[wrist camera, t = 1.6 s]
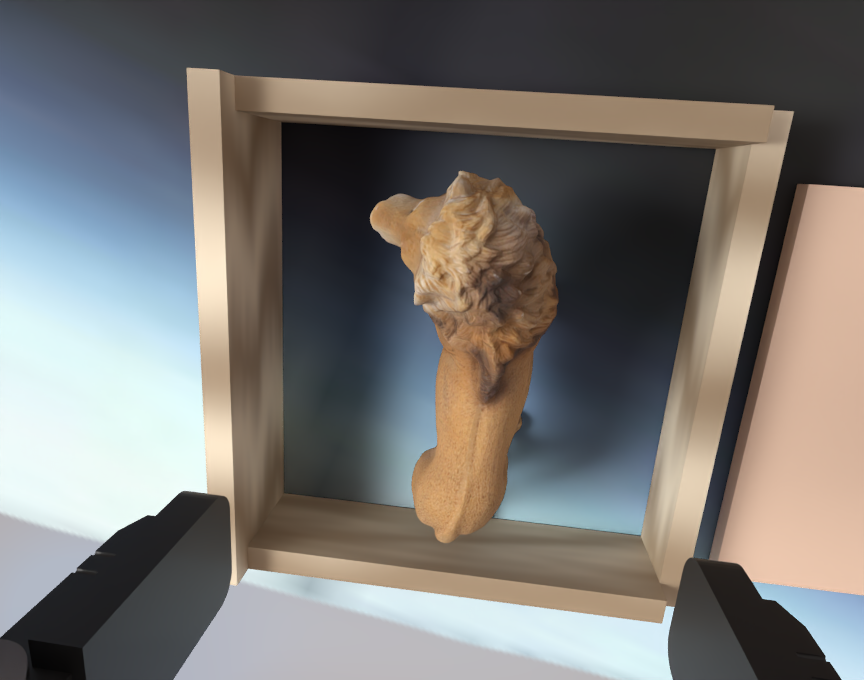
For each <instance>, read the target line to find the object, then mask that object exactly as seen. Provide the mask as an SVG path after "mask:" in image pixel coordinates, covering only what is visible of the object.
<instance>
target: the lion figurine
mask: <svg viewBox="0 0 864 680" xmlns="http://www.w3.org/2000/svg"><path fill="white" fill-rule="evenodd" d="M370 222H371V225H372V227H373V229H374V230H376V231H378V232H379V233H380V235H381V236H382V238H383V239H385V240H386V241H387V242H389V243H391V244H394V245H397V246H399V247H401V257H402V259H403V261H404V263H405V264H406V266H407V267H408V268H409V269H410V270H411V271H412V272H413V274H414V283H415V294H414V304H415V305H423V309H424V311H425V312H426V313H428V314H429V316H430V317H431V319H432V320H433V322H434V324H435V326H436V330H437V334H438V337H439V339H440V341H441V343H442V345H443V346H444V347H443V350H442V353H441V357H440V360H439V365H438V371H437V376H436V428H437V446H436V447H435V448H432V449H429V450H427V451H425V452H424V453H423V454H422V455H421V457H420V458H419V460H418V461H417V463H416V465H415V468H414V472H413V476H412V493H413V500H414V506H415V510H416V513H417V517H418V518H419V519H420V521H421V522H422V523H424V524H426V525H428V526H431V527H433V528H434V530H435V536H436V538H437V539H438V540H439V541H440V542H442V543H449V542H452V541H454V540H455V539H456V538H457V537H458V536H459V535H466V534H471V533H473V532H475V531H477V530H479V529H480V528H482V527H483V526H485V525H486V524H487V523H488V521H489V520H490V519H491V518H492V516H493V515H494V514H495V512H496V511H497V509H498V508H499V506H500V504H501V502H502V500H503V497H504V494H505V490H506V485H507V468H508V457H507V453H508V450H509V447H510V444H511V441H512V439H513V436H514V434H515V433H516V432H517V431H518V430H519V429H520V427H521V425H522V418H521V413H522V410H523V407H524V404H525V401H526V398H527V395H528V391H529V385H530V380H531V374H532V367H533V351H534V349H535V348H536V346H537V344H538V342H539V340H540V338H541V336H542V335H543V334H544V333H545V332H546V331H547V329H548V328H549V326H550V324H551V323H552V321H553V320H554V318H555V316H556V314H557V304H558V302H559V299H558V289H557V287H556V285H555V274H556V272H557V267H556V264H555V263H554V261H553V259H552V257H551V253H550V248H549V243H548V242H547V241H546V240H544V239H543V237H544V232H543V230H542V228H541V227H540V225H539V224H537V223H536V215H535V213H534V211H533V210H532V209H530V208H528V207H526V206H523V205H522V203H521V201H520V200H519V198H518V197H517V196H516V194H515V193H514V191H513V189H512V187H509V186H506V185H505V184H504V183H503V182H502V181H501V180H500V178H496V179H493V180H487V179H484V178H481V177H479V176H478V175H476V174H474V173H469V172H465V171H459V174H458V177H457V178H456V179H455V180H454V182H453V183H452V184H451V185H450V186H449V188H448V189H447V193H445V194H443V195H441V196H439V197H428V198H425V199H416V198H413V197H411V196H409V195H406V194H397V195H394V196H392V197H390V198H388V199H387V200H385V201H381V202H379V203H378V204H377V205H376V206H375V208H374V209H373V211H372V213H371V215H370Z"/></svg>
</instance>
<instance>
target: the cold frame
mask: <svg viewBox="0 0 864 680" xmlns="http://www.w3.org/2000/svg"><path fill="white" fill-rule="evenodd" d="M187 87H188V107H189V127H190V147H191V168H192V188H193V208H194V228H195V249H196V269H197V289H198V309H199V330H200V350H201V370H202V390H203V411H204V431H205V451H206V471H207V492H208V494H213V495H221V496H225V497H227V499H228V501H229V504H230V522H231V554H232V575H231V581H230V585H236V586H237V585H238V584H239V582H240V580H241V579H242V577H243V576H244V574H245V573H246V571H247V569H256V570H263V571H271V572H278V573H286V574H293V575H301V576H309V577H316V578H324V579H331V580H339V581H346V582H354V583H361V584H369V585H376V586H384V587H391V588H399V589H406V590H414V591H421V592H429V593H436V594H444V595H451V596H459V597H467V598H474V599H482V600H489V601H497V602H504V603H512V604H519V605H527V606H534V607H542V608H549V609H557V610H564V611H572V612H579V613H587V614H594V615H602V616H609V617H617V618H625V619H632V620H640V621H647V622H655V623H662V621H663V617H664V612H665V607H666V606H671V607H675V603H676V599H677V594H678V590H679V585H680V581H681V576H682V572H683V568H684V565H685V563H686V561H687V560H688V559H689V558H693V554H694V550H695V546H696V541H697V537H698V532H699V528H700V524H701V519H702V515H703V510H704V506H705V502H706V497H707V493H708V488H709V484H710V479H711V475H712V471H713V466H714V462H715V457H716V453H717V449H718V444H719V440H720V435H721V431H722V427H723V422H724V418H725V413H726V409H727V405H728V400H729V396H730V391H731V387H732V382H733V378H734V374H735V369H736V365H737V360H738V356H739V352H740V347H741V343H742V338H743V334H744V330H745V325H746V321H747V316H748V312H749V307H750V303H751V299H752V294H753V290H754V285H755V281H756V277H757V272H758V268H759V263H760V259H761V255H762V250H763V246H764V241H765V237H766V233H767V228H768V224H769V219H770V215H771V210H772V206H773V202H774V197H775V193H776V188H777V184H778V180H779V175H780V171H781V166H782V162H783V158H784V153H785V149H786V144H787V140H788V135H789V131H790V127H791V122H792V118H793V113H794V111H777V110H774V105H756V104H738V103H720V102H702V101H684V100H666V99H648V98H630V97H612V96H594V95H576V94H558V93H540V92H522V91H504V90H486V89H468V88H450V87H432V86H414V85H396V84H378V83H360V82H342V81H324V80H306V79H288V78H270V77H252V76H234V75H232V74H229V73H227V72H224V71H221V70H216V69H198V68H187ZM281 122H290V123H306V124H322V125H338V126H354V127H370V128H386V129H402V130H418V131H434V132H450V133H466V134H482V135H498V136H514V137H530V138H547V139H563V140H579V141H595V142H611V143H627V144H643V145H659V146H675V147H691V148H707V149H716V152H715V157H714V163H713V168H712V173H711V178H710V183H709V188H708V193H707V199H706V204H705V209H704V214H703V219H702V224H701V229H700V234H699V240H698V245H697V250H696V255H695V260H694V265H693V270H692V276H691V281H690V286H689V291H688V296H687V301H686V306H685V312H684V317H683V322H682V327H681V332H680V337H679V342H678V348H677V353H676V358H675V363H674V368H673V373H672V378H671V384H670V389H669V394H668V399H667V404H666V409H665V414H664V420H663V425H662V430H661V435H660V440H659V445H658V450H657V455H656V461H655V466H654V471H653V476H652V481H651V486H650V491H649V497H648V502H647V507H646V512H645V517H644V522H643V527H642V533H641V536H636V535H628V534H619V533H611V532H603V531H595V530H586V529H578V528H570V527H561V526H553V525H545V524H536V523H528V522H520V521H511V520H503V519H495V518H491V519H490V520H489V521H488V523H487V524H486V525H485V526H483V527H482V528H480V529H479V530H477V531H475V532H473V533H471V534H466V535H459V536H458V537H457V538H456V539H455V540H454V541H452V542H449V543H442V542H440V541H439V540H438V539H437V538H436V536H435V530H434V528H433V527H431V526H428V525H426V524H424V523H422V522H421V521H420V519H419V518H418V517H417V513H416V510H415V509H412V508H404V507H395V506H387V505H379V504H370V503H362V502H354V501H345V500H337V499H329V498H320V497H312V496H304V495H296V494H287V493H284V437H283V298H282V160H281Z"/></svg>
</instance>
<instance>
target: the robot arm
mask: <svg viewBox="0 0 864 680" xmlns="http://www.w3.org/2000/svg"><path fill="white" fill-rule="evenodd" d="M231 575H232V554H231V522H230V504H229V501H228V499H227V497H225V496H221V495H213V494H205V493H197V492H190V491H183V492H181V493H179V494H178V495H177V496H176V497H175V498H174V499H173V500H172V501H171V502H170V503H169V504H168V505H167V506H166V507H165V508H164V509H163V510H161V511H160V512H159V513H158V514H157V515H156V516H149V515H147V516H145V517H144V518H142V519H140V520H138V521H136V522H134V523H132V524H130V525H128V526H126V527H124V528H122V529H121V530H119V531H117V532H116V533H115V534H114V535H113V536H112V537H111V538H110V539H108V540H107V541H106V542H105V543H104V544H103V545H102V546H101V547H100V548H98V549H97V550H96V553H95V555H91V556H90V557H89V558H88V559H86V560H85V561H84V562H83V563H82V564H81V565H80V566H79V567H78V568H77V571H76V572H75V573H71V574H70V575H69V576H68V577H67V578H65V579H64V580H63V581H62V582H61V583H60V584H59V585H58V586H57V587H56V588H54V589H53V590H52V591H51V592H50V593H49V594H48V595H47V596H46V597H45V598H43V599H42V600H41V601H40V602H39V603H38V604H37V605H36V606H35V607H33V609H31V610H30V611H29V612H28V613H27V614H26V615H25V616H24V617H22V618H21V619H20V620H19V621H18V622H17V623H16V624H15V625H14V626H13V627H12V628H10V629H9V630H8V631H7V632H6V633H5V634H4V635H3V636H2V637H1V638H0V680H173V679H174V677H175V676H176V674H177V673H178V671H179V670H180V668H181V667H182V665H183V664H184V662H185V661H186V659H187V658H188V656H189V655H190V653H191V652H192V650H193V649H194V647H195V646H196V644H197V643H198V641H199V640H200V638H201V636H202V635H203V634H204V632H205V631H206V629H207V627H208V626H209V625H210V623H211V621H212V620H213V619H214V617H215V616H216V614H217V612H218V611H219V609H220V608H221V606H222V604H223V602H224V600H225V598H226V595H227V593H228V589H229V585H230V581H231ZM668 657H669V665H670V670H671V674H672V677H673V680H841V678H840V677H839V675H838V674H837V672H836V671H835V669H834V668H833V666H832V665H831V664H830V662H826V660H825V655H824V653H823V652H822V650H821V649H820V647H819V646H818V644H817V643H816V642H815V640H814V639H813V637H812V636H811V634H810V633H809V631H808V630H807V628H806V627H805V626H804V625H803V624H802V623H800V622H799V621H798V620H797V619H796V618H795V617H793V616H792V615H791V614H790V613H789V612H788V611H786V610H785V609H784V608H783V607H782V606H781V605H780V604H778V603H777V602H776V601H772V600H765V599H762V598H761V596H760V594H759V593H758V591H757V590H756V588H755V586H754V585H753V583H752V582H751V580H750V578H749V577H748V575H747V574H746V572H745V570H744V569H743V568H742V566H740V565H739V564H737V563H730V562H722V561H715V560H707V559H699V558H689V559H688V560H687V561H686V563H685V565H684V568H683V572H682V576H681V581H680V585H679V590H678V594H677V599H676V603H675V608H674V612H673V617H672V621H671V626H670V631H669V638H668Z"/></svg>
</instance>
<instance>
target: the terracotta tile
mask: <svg viewBox="0 0 864 680" xmlns="http://www.w3.org/2000/svg"><path fill="white" fill-rule="evenodd" d="M709 560H715V561H722V562H730V563H737V564H739V565H740V566H742V568H743V569H744V570H745V572H746V574H747V575H748V577H749V578H750V580H751V581H753V582H761V583H769V584H777V585H785V586H793V587H801V588H809V589H817V590H825V591H833V592H841V593H849V594H857V595H864V188H858V187H843V186H828V185H813V184H797V188H796V192H795V196H794V200H793V205H792V209H791V213H790V217H789V222H788V226H787V230H786V234H785V239H784V243H783V247H782V251H781V256H780V260H779V264H778V268H777V272H776V277H775V281H774V285H773V289H772V294H771V298H770V302H769V306H768V311H767V315H766V319H765V323H764V327H763V332H762V336H761V340H760V344H759V349H758V353H757V357H756V361H755V366H754V370H753V374H752V378H751V383H750V387H749V391H748V395H747V399H746V404H745V408H744V412H743V416H742V421H741V425H740V429H739V433H738V438H737V442H736V446H735V450H734V455H733V459H732V463H731V467H730V471H729V476H728V480H727V484H726V488H725V493H724V497H723V501H722V505H721V510H720V514H719V518H718V522H717V527H716V531H715V535H714V539H713V543H712V548H711V552H710V556H709Z"/></svg>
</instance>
